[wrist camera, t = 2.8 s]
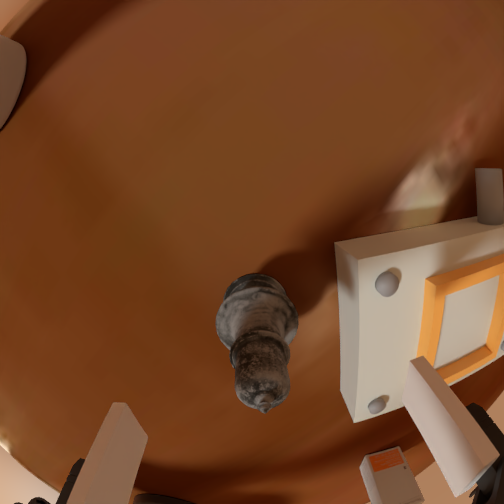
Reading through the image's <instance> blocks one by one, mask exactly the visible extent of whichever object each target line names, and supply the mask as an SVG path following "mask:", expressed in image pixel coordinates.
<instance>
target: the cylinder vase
mask: <svg viewBox="0 0 504 504" xmlns="http://www.w3.org/2000/svg"><path fill="white" fill-rule="evenodd" d="M26 62H27V59H26V52H25V50H24V48H23V46H22V45H21V44H20V43H18V42H16V41H13V40H11V39H9V38H7V37H5V36H2V35H0V129H1V127H2V126H3V125H4V123H5V122H6V120H7V118H8V117H9V115H10V113H11V111H12V109H13V107H14V105H15V103H16V101H17V98H18V96H19V93H20V91H21V88H22V84H23V81H24V77H25V72H26Z"/></svg>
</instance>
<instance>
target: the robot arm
mask: <svg viewBox="0 0 504 504" xmlns="http://www.w3.org/2000/svg"><path fill="white" fill-rule="evenodd" d="M401 401H402V402H403V404H404V406H405V407H406V409H407V411H408V412H409V414H410V416H411V417H412V419H413V421H414V423H415V424H416V426H417V428H418V429H419V431H420V433H421V435H422V436H423V438H424V440H425V442H426V444H427V445H428V447H429V449H430V451H431V453H432V454H433V456H434V458H435V460H436V462H437V463H438V465H439V467H440V469H441V471H442V473H443V475H444V477H445V479H446V481H447V482H448V484H449V486H450V488H451V490H452V492H453V494H454V496H455V497H457V496H459V495H460V494H462V493H464V492H465V491H467V490H469V489H470V488H471V487H472V486H473V485H474V484H475V483H477V485H478V486H477V487H476V488H475V489H474V490H473V491H472V492H471V494H470V496H469V497H472V496H473V495H474V494H475V496H474V499H473V503H472V504H504V435H503V433H502V432H501V431H500V429H499V428H498V427H497V425H496V424H495V423H493V420H492V419H491V418H490V417H489V415H488V414H487V413H486V411H485V410H484V409H483V408H482V407H480V406H479V405H477V404H475V403H472V404H470V405H468V406H467V407H465V406H464V405H463V404H462V402H461V401H460V400H459V399H458V397H457V396H456V395H455V393H454V392H453V391H452V390H451V388H450V387H449V386H448V385H447V384H446V382H445V381H444V380H443V379H442V377H441V376H440V375H439V374H438V373H437V371H436V370H435V369H434V368H433V367H432V365H431V364H430V363H429V362H428V361H427V359H426V358H425V357H424V356H421V357H418V358H415V359H412V360H410V361H409V367H408V372H407V377H406V382H405V387H404V391H403V395H402V400H401ZM147 440H148V436H147V435H146V433H145V432H144V430H143V429H142V427H141V426H140V424H139V423H138V421H137V420H136V418H135V416H134V415H133V413H132V412H131V410H130V408H129V407H128V405H127V403H119V402H113V404H112V406H111V408H110V410H109V412H108V414H107V416H106V418H105V420H104V422H103V424H102V426H101V428H100V430H99V432H98V434H97V436H96V438H95V440H94V442H93V445H92V447H91V449H90V451H89V453H88V455H87V457H86V460H85V459H81V458H80V459H79V460H78V461H77V462H76V463H75V464H74V465H73V467H72V469H71V471H70V473H69V474H70V475H68V477H67V482H65V484H64V486H63V488H62V491H61V493H60V496H59V498H58V500H57V502H56V504H128V503H129V499H130V496H131V492H132V489H133V485H134V482H135V479H136V475H137V472H138V469H139V465H140V462H141V459H142V456H143V452H144V449H145V446H146V443H147ZM14 504H22V503H19V502H18V503H14ZM28 504H50V503H49V502H47V501H46V500H45V499H43V498H40V497H36V498H33V499H31V501H30V502H29V503H28ZM133 504H192V503H189V502H186V501H183V500H179V499H175V498H171V497H166V496H160V495H151V494H141V495H137V496H135V498H134V501H133Z"/></svg>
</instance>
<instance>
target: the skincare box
mask: <svg viewBox="0 0 504 504" xmlns="http://www.w3.org/2000/svg"><path fill="white" fill-rule="evenodd" d="M360 471H361V474H362V477H363V480H364V483H365V486H366V489H367V492H368V495H369V498H370V501H371V504H422V503H423V502H424V498H423V495H422V493H421V491H420V489H419V487H418V485H417V482H416V480H415V478H414V476H413V474H412V471H411V469H410V467H409V465H408V463H407V461H406V459H405V457H404V455H403V453H402V451H401V449H400V447H399V446H397V447H394V448H391V449H388V450H384V451H381V452H377V453H373V454H368V455H365V457H364V459H363V461H362V463H361V465H360Z"/></svg>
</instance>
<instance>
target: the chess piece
mask: <svg viewBox="0 0 504 504" xmlns="http://www.w3.org/2000/svg"><path fill="white" fill-rule="evenodd" d="M297 328H298V314H297V311H296V308H295V306H294V304H293V303H292V302H291V300H290V299H289V298H288V297H287V295H286V292H285V290H284V288H283V287H282V285H281V284H280V283H279V282H278V281H276V280H275V279H274V278H272V277H270V276H267V275H264V274H257V273H256V274H248V275H245V276H242V277H240V278H238V279H237V280H235V281H234V282H232V284H231V285H230V286H229V287H228V288H227V291H226V293H225V295H224V301H223V303H222V304H221V306H220V308H219V310H218V313H217V316H216V329H217V334H218V336H219V338H220V340H221V342H222V343H223V344H224V345H225V346H226V347H227V348H228V349H230V355H229V356H230V362H231V364H232V366H233V367H234V369H235V390H236V394H237V396H238V398H239V399H240V400H241V401H242V402H243V403H244V404H246V405H247V406H249V407H251V408H255V409H258V410H259V411H261V412H263V413H267V412H268V411H269V410H270V409H271V408H274V407H276V406H278V405H279V404H281V403H282V402H283V401H284V400H285V399H286V397H287V396H288V394H289V391H290V379H289V375H288V370H287V364H288V363H289V359H290V349H289V346H288V345H289V344H290V343H291V341H292V340H293V338H294V337H295V335H296V332H297Z"/></svg>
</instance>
